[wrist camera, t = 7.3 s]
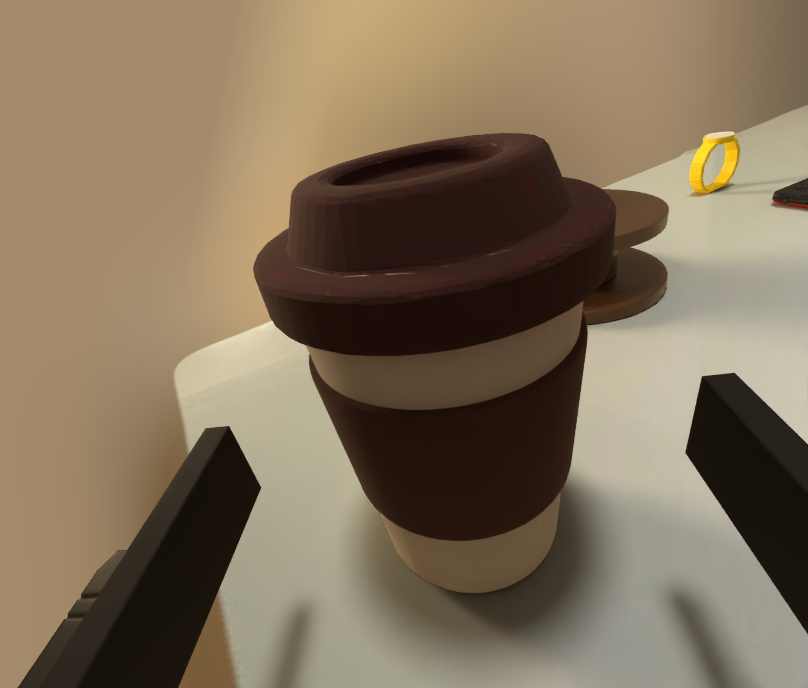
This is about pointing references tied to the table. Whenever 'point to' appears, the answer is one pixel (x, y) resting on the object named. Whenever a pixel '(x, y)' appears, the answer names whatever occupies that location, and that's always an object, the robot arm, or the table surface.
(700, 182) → the watch
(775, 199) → the handheld console
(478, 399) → the coffee cup
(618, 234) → the stand
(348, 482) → the table surface
